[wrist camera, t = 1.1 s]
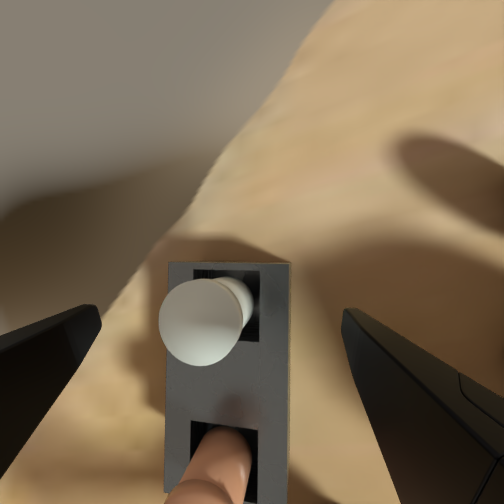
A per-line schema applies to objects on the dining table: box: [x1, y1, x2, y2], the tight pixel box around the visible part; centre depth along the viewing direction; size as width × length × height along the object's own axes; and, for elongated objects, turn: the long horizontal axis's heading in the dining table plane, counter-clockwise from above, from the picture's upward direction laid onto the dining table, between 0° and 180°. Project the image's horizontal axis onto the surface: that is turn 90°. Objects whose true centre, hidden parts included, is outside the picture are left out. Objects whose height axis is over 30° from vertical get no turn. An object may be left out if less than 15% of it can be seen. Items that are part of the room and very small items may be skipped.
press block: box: [164, 261, 291, 504], centre depth 20 cm, size 17×9×6 cm, turn 179°
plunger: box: [158, 276, 254, 366], centre depth 15 cm, size 4×4×6 cm
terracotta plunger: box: [164, 426, 252, 504], centre depth 15 cm, size 4×4×6 cm
